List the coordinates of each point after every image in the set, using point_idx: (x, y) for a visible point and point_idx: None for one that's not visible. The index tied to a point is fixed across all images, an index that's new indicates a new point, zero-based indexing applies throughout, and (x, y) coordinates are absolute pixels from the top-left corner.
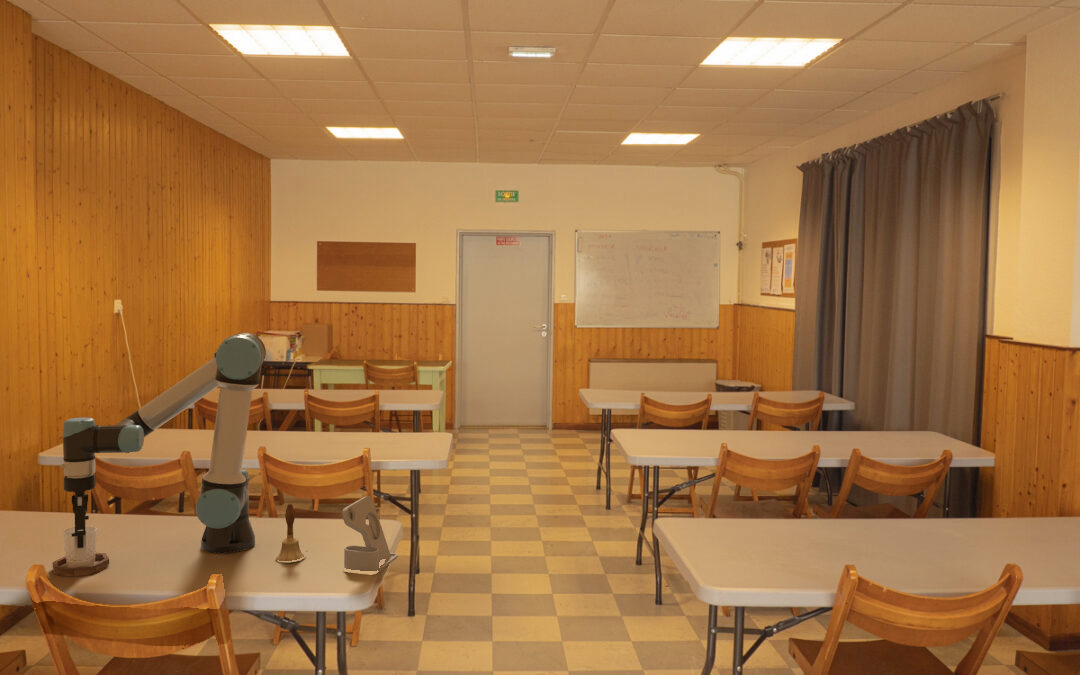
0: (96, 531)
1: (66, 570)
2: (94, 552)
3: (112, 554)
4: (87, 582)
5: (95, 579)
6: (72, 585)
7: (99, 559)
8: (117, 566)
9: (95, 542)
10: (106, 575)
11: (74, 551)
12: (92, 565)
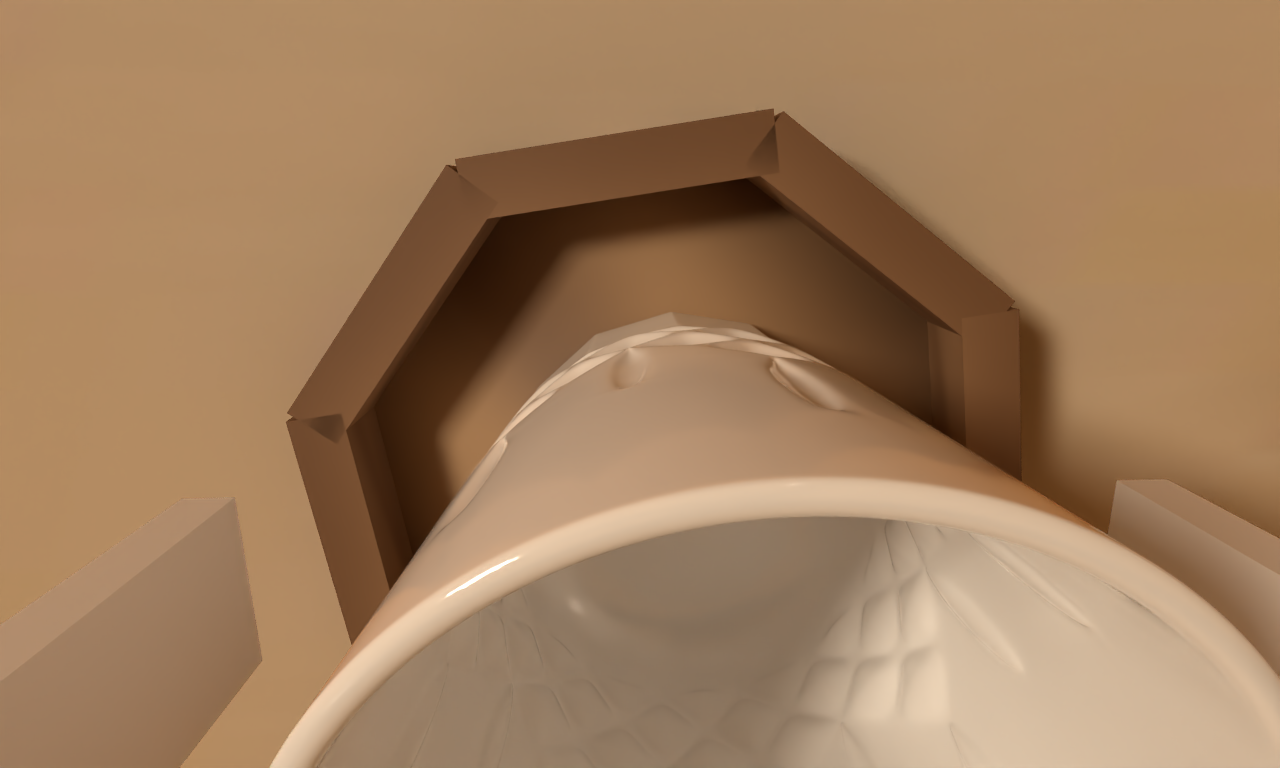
0: (928, 462)
1: None
2: (803, 355)
3: (189, 69)
4: (1259, 380)
5: (1206, 294)
6: (1258, 526)
7: (481, 252)
8: (813, 6)
9: (851, 386)
10: (1129, 162)
11: (946, 706)
12: (990, 352)
